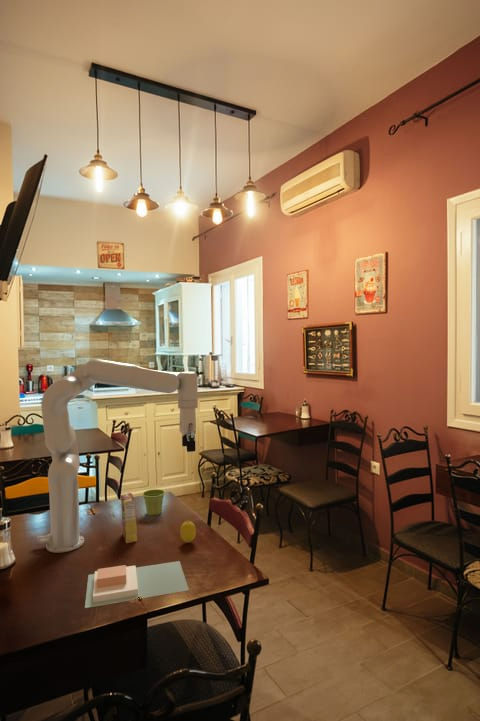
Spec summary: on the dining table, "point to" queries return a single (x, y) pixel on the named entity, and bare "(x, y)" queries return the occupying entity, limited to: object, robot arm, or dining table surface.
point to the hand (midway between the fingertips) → (188, 448)
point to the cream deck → (117, 587)
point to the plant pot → (153, 501)
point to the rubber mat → (147, 583)
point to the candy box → (129, 517)
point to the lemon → (188, 531)
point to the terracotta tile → (111, 576)
